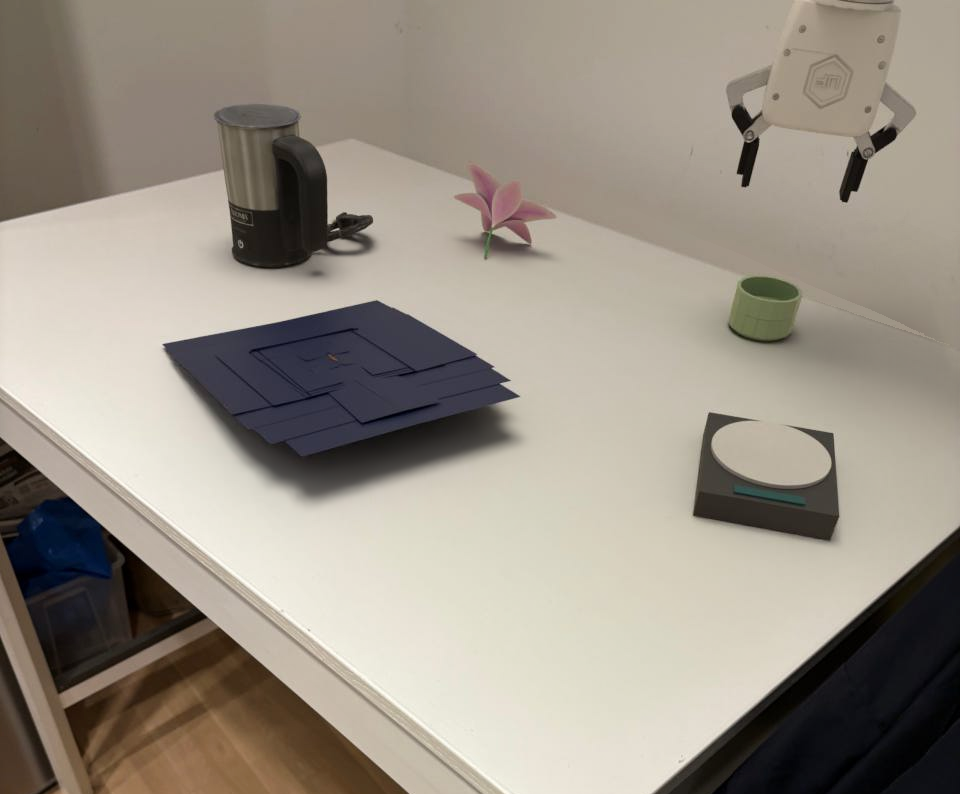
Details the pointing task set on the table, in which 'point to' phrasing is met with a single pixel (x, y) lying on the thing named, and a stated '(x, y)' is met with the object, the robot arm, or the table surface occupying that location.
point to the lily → (502, 204)
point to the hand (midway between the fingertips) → (793, 190)
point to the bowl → (764, 307)
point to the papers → (339, 375)
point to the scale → (768, 476)
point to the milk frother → (276, 187)
